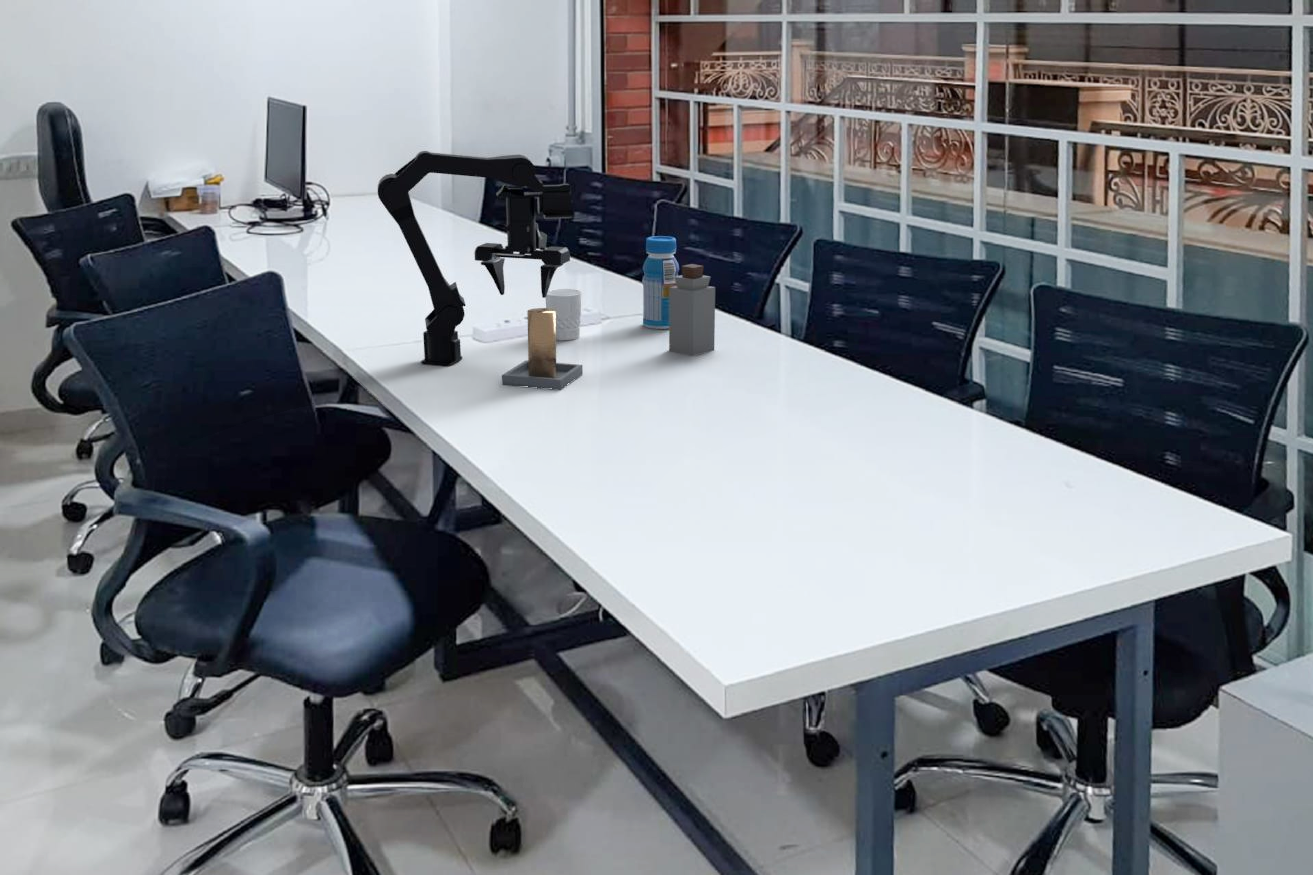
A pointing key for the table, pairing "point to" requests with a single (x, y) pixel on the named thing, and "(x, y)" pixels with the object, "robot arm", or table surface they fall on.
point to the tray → (522, 378)
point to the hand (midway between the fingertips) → (523, 296)
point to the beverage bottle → (658, 280)
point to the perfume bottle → (692, 312)
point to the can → (542, 342)
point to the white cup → (565, 312)
